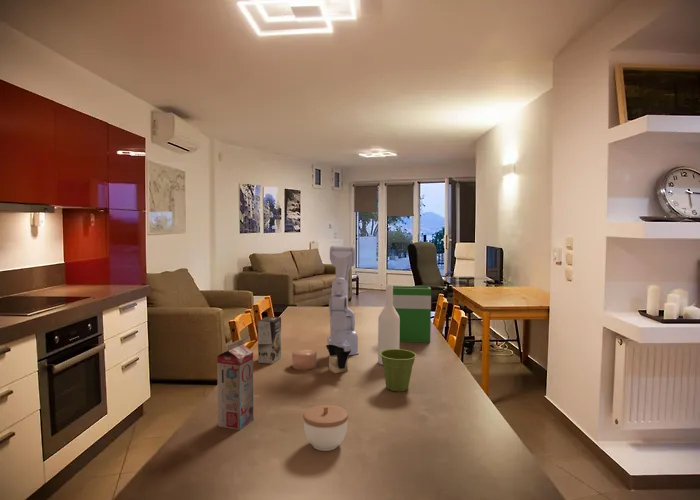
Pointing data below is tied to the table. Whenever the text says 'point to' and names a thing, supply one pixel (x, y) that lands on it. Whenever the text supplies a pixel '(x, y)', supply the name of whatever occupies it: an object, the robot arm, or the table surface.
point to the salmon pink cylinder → (304, 359)
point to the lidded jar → (325, 426)
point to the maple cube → (336, 364)
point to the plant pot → (397, 368)
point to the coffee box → (269, 339)
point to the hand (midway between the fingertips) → (338, 366)
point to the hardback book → (413, 312)
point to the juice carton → (235, 386)
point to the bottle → (388, 325)
